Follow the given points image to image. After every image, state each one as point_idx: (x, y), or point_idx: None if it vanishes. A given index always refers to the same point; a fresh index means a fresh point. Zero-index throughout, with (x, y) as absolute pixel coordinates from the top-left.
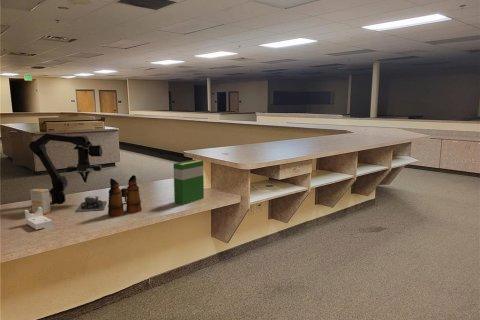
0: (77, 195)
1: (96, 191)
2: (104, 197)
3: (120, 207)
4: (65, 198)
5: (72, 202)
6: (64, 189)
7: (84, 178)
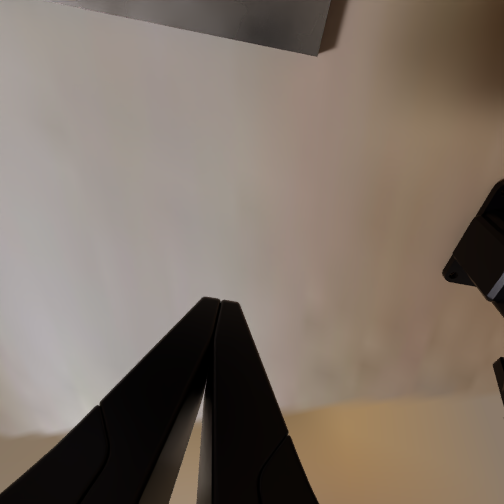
0: (319, 369)
1: None
2: (91, 239)
3: None
4: (462, 263)
5: (395, 189)
6: (498, 371)
7: (211, 392)
